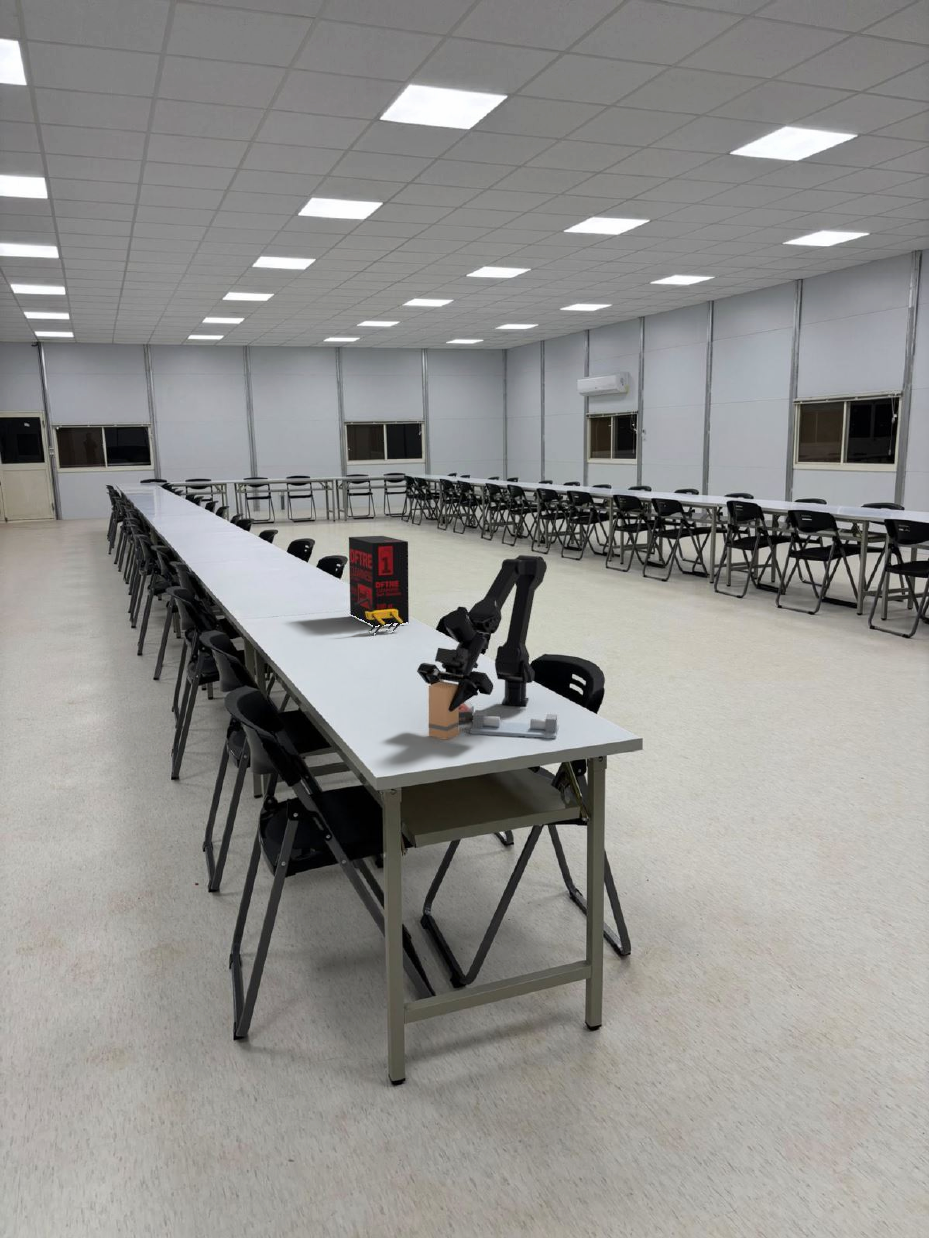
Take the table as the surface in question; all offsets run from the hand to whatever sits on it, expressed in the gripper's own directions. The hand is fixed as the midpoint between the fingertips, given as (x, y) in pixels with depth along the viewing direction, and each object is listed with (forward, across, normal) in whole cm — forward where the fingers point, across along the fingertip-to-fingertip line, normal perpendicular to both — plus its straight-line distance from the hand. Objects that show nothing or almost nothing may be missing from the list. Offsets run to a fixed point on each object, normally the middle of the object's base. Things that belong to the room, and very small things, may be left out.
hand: (440, 708), depth 204 cm
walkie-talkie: (-8, -8, +18) cm, 21 cm away
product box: (-68, -104, +78) cm, 147 cm away
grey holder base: (-5, +12, +14) cm, 19 cm away
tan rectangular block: (+4, 0, +6) cm, 7 cm away
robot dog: (-55, -88, +64) cm, 122 cm away
